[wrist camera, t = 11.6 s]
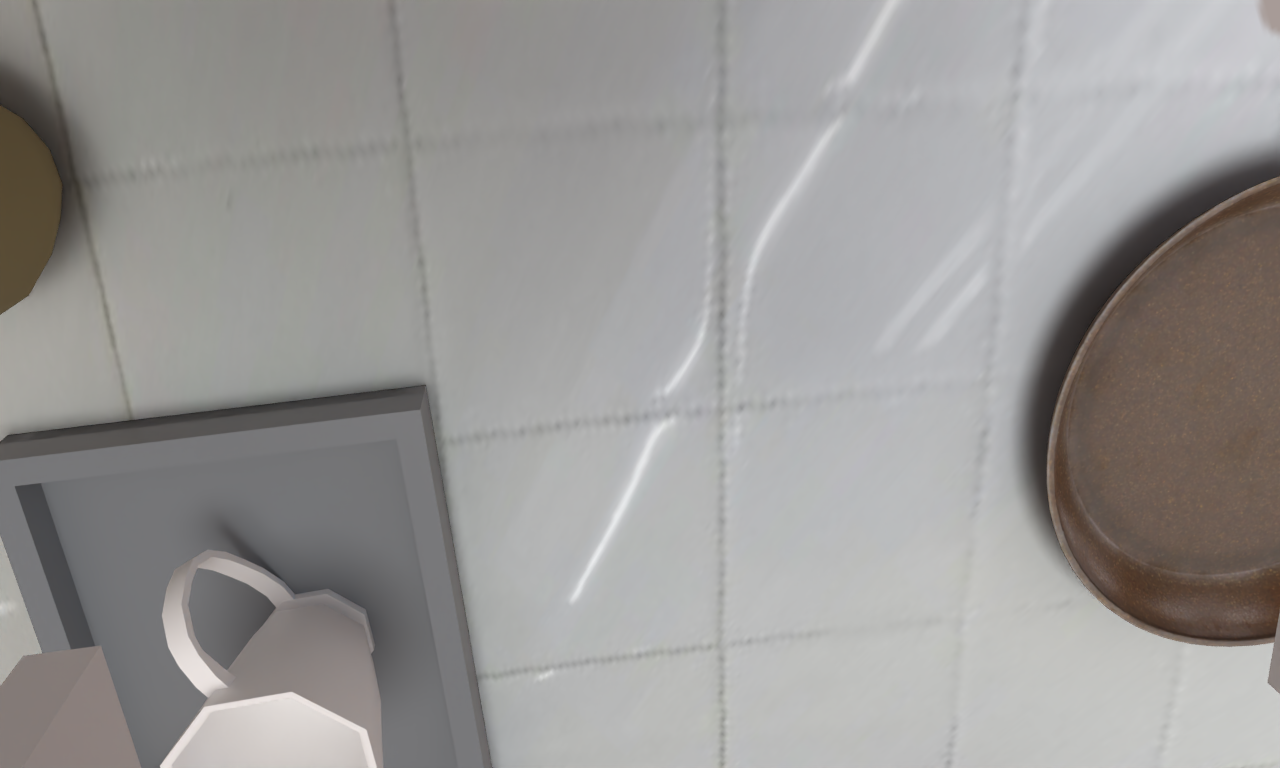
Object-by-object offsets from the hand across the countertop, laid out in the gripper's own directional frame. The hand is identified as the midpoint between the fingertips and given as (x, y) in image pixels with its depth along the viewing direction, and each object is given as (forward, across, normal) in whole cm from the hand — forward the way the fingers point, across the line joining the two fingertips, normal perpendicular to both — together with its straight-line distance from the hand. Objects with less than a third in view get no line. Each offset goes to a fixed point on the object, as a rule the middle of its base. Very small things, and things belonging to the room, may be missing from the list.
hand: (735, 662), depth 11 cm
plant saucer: (+27, +27, -11) cm, 40 cm away
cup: (+26, -13, -14) cm, 32 cm away
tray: (+27, -14, -16) cm, 34 cm away
